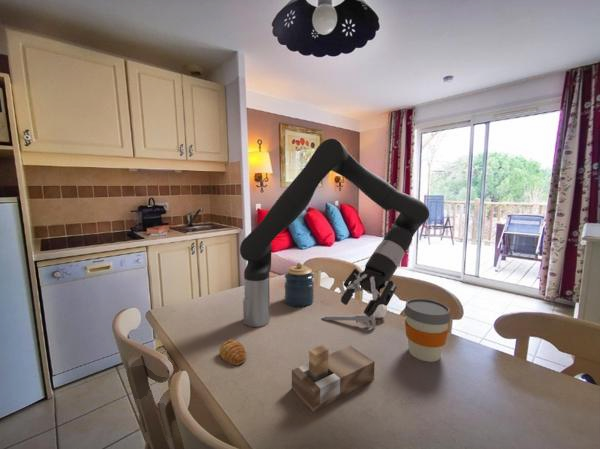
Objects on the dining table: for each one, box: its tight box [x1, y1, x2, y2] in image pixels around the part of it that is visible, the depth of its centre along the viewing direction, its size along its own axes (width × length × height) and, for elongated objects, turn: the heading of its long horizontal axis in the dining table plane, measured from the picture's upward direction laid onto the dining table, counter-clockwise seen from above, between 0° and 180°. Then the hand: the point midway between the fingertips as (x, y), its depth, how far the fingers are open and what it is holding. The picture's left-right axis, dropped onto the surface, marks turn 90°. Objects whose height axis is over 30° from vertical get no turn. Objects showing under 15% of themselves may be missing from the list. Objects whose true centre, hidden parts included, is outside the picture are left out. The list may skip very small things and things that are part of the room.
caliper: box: [320, 313, 376, 330], centre depth 104 cm, size 20×1×6 cm, turn 67°
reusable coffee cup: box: [404, 298, 451, 363], centre depth 85 cm, size 13×12×15 cm
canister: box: [284, 262, 315, 308], centre depth 124 cm, size 13×13×18 cm
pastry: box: [218, 339, 248, 366], centre depth 83 cm, size 9×7×4 cm
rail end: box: [308, 344, 330, 383], centre depth 69 cm, size 4×2×10 cm, turn 124°
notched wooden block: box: [291, 345, 375, 413], centre depth 72 cm, size 20×9×5 cm, turn 124°
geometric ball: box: [366, 298, 388, 319], centre depth 110 cm, size 8×8×8 cm
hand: (354, 308), depth 73 cm, fingers open, 8 cm apart
